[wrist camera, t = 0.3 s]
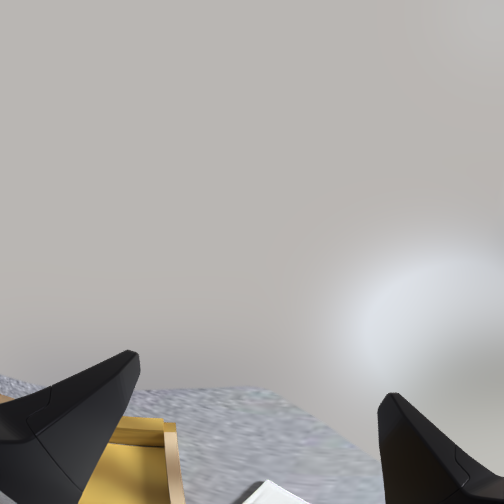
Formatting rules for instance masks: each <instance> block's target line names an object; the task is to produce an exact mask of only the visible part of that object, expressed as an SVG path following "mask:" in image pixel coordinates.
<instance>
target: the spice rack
mask: <svg viewBox="0 0 504 504" xmlns="http://www.w3.org/2000/svg"><path fill="white" fill-rule="evenodd" d="M11 400H14V398H10V397H7V396H4V395H1V394H0V403H4V402H7V401H11ZM110 443H117V444H110ZM118 444H127V445H118ZM128 445H139V446H128ZM140 446H157V447H140ZM159 447H165V448H159ZM165 454H166V458H165ZM166 466H167V469H166ZM167 476H168V479H167ZM168 485H169V488H168ZM82 493H83V494H82V496H81V498H80V500H79V502H78V504H170V501H171V504H186V503H185V497H184V491H183V484H182V477H181V469H180V461H179V452H178V443H177V433H176V424H175V423H165V422H163V419H160V418H140V417H127V416H122V418H121V419H120V421H119V423H118V425H117V427H116V429H115V431H114V433H113V434H112V436H111V438H110V440H109V443H108V444H107V446H106V448H105V450H104V452H103V454H102V456H101V458H100V459H99V461H98V463H97V465H96V467H95V469H94V471H93V473H92V475H91V477H90V479H89V481H88V483H87V485H86V487H85V489H84V492H82ZM169 493H170V496H169Z"/></svg>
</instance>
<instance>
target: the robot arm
mask: <svg viewBox="0 0 504 504" xmlns="http://www.w3.org/2000/svg"><path fill="white" fill-rule="evenodd" d="M139 375H140V361H139V354H138V353H136V352H134V351H131V350H126V351H124V352H121V353H119V354H118V355H116V356H113V357H111V358H109V359H107V360H105V361H103V362H101V363H99V364H97V365H95V366H92V367H91V368H88V369H86V370H84V371H82V372H80V373H78V374H75V375H73V376H71V377H69V378H67V379H65V380H62V381H60V382H58V383H56V384H54V385H52V386H49V387H47V388H44V389H42V390H40V391H37V392H35V393H32V394H30V395H27V396H24V397H21V398H17V399H14V400H11V401H7V402H4V403H0V504H78V502H79V500H80V498H81V496H82V494H83V493H82V492H84V489H85V487H86V485H87V483H88V481H89V479H90V477H91V475H92V473H93V471H94V469H95V467H96V465H97V463H98V461H99V459H100V458H101V456H102V454H103V452H104V450H105V448H106V446H107V444H108V442H109V440H110V438H111V436H112V434H113V433H114V431H115V429H116V427H117V425H118V423H119V421H120V419H121V418H122V416H123V414H124V412H125V410H126V408H127V406H128V403H129V401H130V398H131V395H132V393H133V390H134V388H135V385H136V382H137V380H138V377H139ZM377 414H378V432H379V449H380V456H381V464H382V472H383V481H384V490H385V502H386V504H504V477H500V476H498V475H495V474H494V473H492V472H491V471H490V470H488V469H487V468H485V467H484V466H483V465H481V464H480V463H478V462H477V461H476V460H474V459H473V458H472V457H470V456H469V455H468V454H467V453H465V452H464V451H463V450H462V449H461V448H459V447H458V446H457V445H456V444H455V443H454V442H453V441H452V440H450V439H449V438H448V437H447V436H446V435H445V434H444V433H442V432H441V431H440V430H439V429H438V428H437V427H436V426H435V425H434V424H433V423H431V422H430V421H429V420H428V419H427V418H426V417H425V416H424V415H422V414H421V413H420V412H419V411H418V410H417V409H416V408H415V407H414V406H412V405H411V404H410V403H409V402H408V401H407V400H406V399H405V398H404V397H402V396H401V395H400V394H399V393H388V394H387V395H386V396H385V398H384V400H383V401H382V403H381V404H380V406H379V408H378V412H377Z"/></svg>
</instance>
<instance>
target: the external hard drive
mask: <svg viewBox="0 0 504 504" xmlns="http://www.w3.org/2000/svg"><path fill="white" fill-rule="evenodd" d="M242 504H310V503H308V502H306V501H304V500H303V499H301V498H299V497H297V496H295V495H293V494H292V493H290V492H288V491H286V490H285V489H283V488H281V487H279V486H278V485H276V484H275V483H273V482H271V481H270V480H268V479H267V480H266V481H265V482H264V483H263V484H262V485H261V486H260V487H259V488H258V489H257V490H256V491H255V492H254V493H253V494H252V495H251V496H250V497H249V498H248V499H247V500H246V501H245V502H243V503H242Z"/></svg>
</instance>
